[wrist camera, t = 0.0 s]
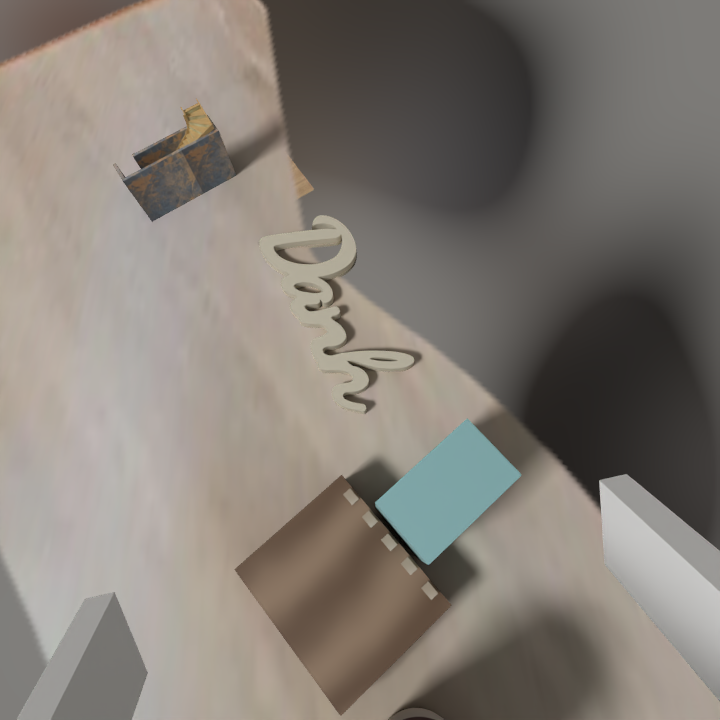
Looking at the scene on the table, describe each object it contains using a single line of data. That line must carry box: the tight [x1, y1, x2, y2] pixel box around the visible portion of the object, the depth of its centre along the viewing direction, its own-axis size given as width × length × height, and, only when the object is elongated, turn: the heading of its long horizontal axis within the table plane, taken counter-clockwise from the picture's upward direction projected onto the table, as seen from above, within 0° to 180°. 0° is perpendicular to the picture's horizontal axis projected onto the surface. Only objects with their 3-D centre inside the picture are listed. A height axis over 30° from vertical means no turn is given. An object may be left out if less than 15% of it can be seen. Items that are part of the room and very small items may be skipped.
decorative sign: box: [259, 215, 414, 414], centre depth 55 cm, size 23×2×10 cm
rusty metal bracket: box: [113, 99, 314, 221], centre depth 57 cm, size 11×3×10 cm, turn 124°
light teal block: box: [375, 419, 521, 565], centre depth 44 cm, size 6×10×9 cm, turn 131°
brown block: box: [235, 475, 451, 716], centre depth 45 cm, size 14×12×4 cm
